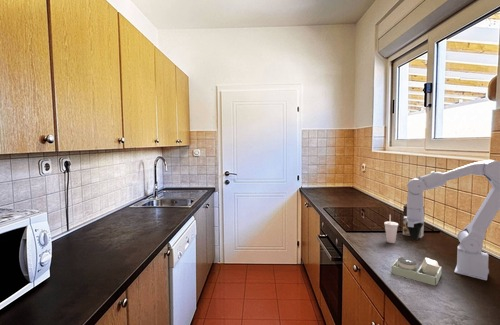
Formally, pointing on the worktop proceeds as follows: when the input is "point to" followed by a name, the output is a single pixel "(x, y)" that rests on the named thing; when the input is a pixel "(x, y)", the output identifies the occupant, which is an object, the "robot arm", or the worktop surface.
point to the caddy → (416, 274)
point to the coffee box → (405, 228)
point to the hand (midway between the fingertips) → (414, 240)
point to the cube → (430, 266)
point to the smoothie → (391, 230)
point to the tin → (407, 263)
